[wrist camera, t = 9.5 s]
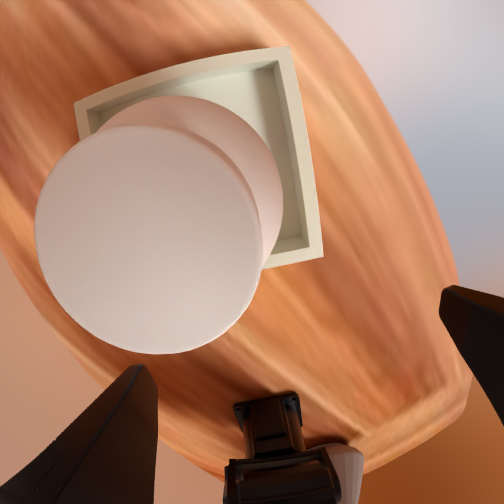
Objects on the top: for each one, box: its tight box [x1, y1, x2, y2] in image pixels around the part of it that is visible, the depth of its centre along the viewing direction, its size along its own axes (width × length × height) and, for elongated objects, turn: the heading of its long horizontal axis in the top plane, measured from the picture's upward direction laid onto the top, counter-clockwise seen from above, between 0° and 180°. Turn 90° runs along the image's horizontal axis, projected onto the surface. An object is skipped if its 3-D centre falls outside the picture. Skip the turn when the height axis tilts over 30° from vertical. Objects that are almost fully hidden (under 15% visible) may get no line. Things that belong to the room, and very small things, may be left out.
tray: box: [73, 46, 324, 270], centre depth 16 cm, size 13×13×2 cm
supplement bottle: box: [34, 95, 283, 354], centre depth 11 cm, size 7×7×13 cm
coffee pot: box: [306, 443, 364, 504], centre depth 27 cm, size 21×12×15 cm, turn 30°
